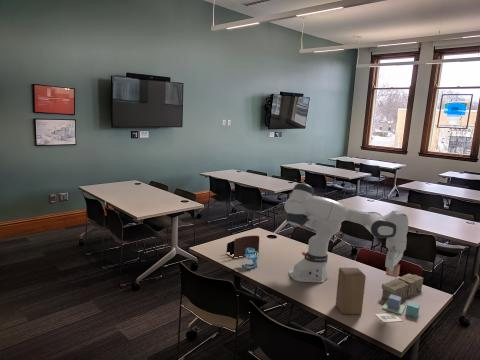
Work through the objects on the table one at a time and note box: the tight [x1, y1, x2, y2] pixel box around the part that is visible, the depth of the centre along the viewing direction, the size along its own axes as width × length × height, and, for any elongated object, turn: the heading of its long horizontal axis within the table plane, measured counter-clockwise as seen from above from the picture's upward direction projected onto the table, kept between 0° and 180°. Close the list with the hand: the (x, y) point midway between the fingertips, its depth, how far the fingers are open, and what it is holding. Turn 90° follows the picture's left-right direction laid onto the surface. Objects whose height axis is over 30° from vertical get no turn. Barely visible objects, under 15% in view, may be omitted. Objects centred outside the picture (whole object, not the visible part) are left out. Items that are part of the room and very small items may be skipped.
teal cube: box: [405, 300, 421, 319], centre depth 175 cm, size 5×5×5 cm
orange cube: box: [385, 263, 401, 279], centre depth 177 cm, size 5×5×5 cm
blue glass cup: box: [242, 248, 259, 270], centre depth 221 cm, size 8×8×12 cm
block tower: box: [381, 273, 424, 301], centre depth 195 cm, size 8×8×29 cm
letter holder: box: [226, 235, 260, 257], centre depth 242 cm, size 10×20×14 cm, turn 122°
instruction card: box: [374, 312, 403, 323], centre depth 170 cm, size 10×7×1 cm
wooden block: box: [335, 267, 367, 315], centre depth 174 cm, size 10×10×20 cm
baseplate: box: [381, 294, 406, 316], centre depth 179 cm, size 9×9×6 cm
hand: (392, 271), depth 177 cm, fingers closed on orange cube, 5 cm apart
